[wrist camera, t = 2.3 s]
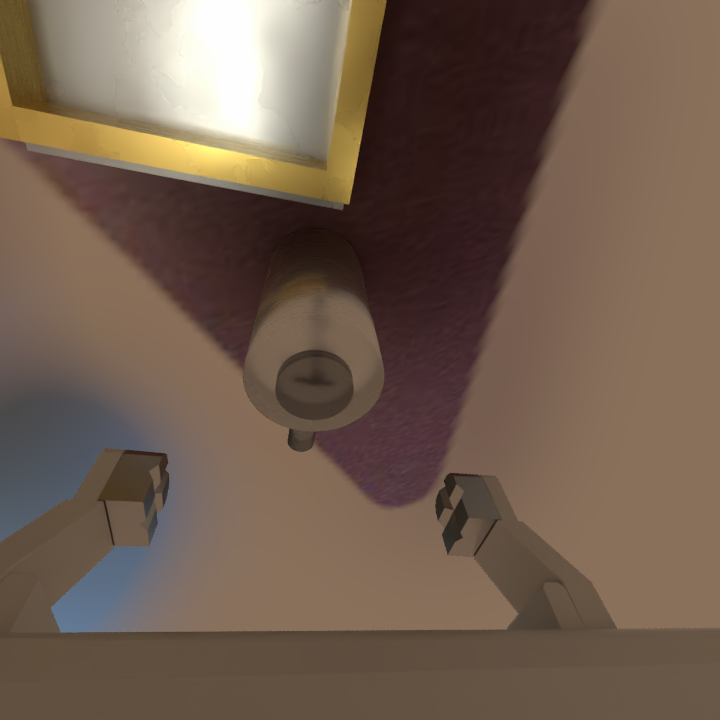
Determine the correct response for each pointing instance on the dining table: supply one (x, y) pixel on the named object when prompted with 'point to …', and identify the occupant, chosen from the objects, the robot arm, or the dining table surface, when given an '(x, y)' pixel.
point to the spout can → (313, 339)
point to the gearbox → (196, 88)
